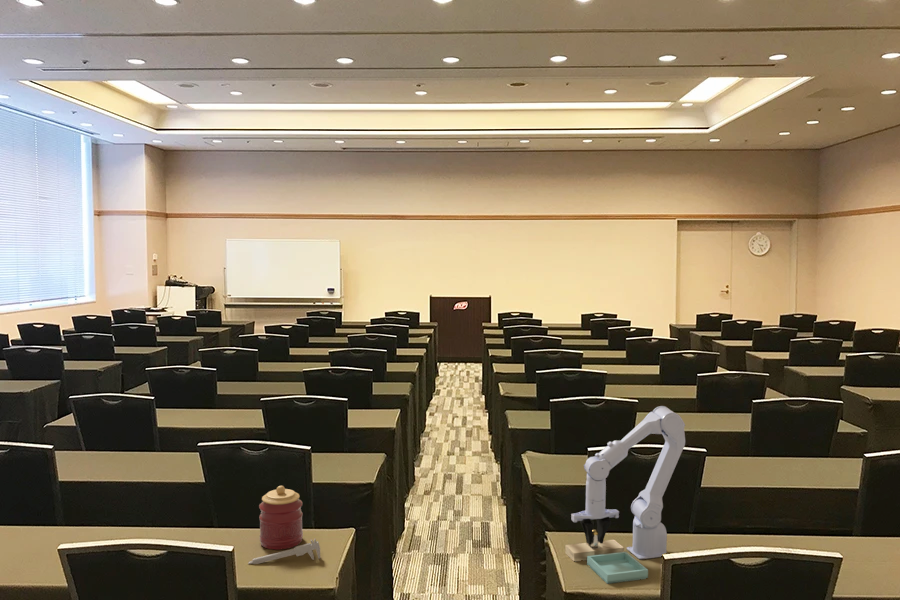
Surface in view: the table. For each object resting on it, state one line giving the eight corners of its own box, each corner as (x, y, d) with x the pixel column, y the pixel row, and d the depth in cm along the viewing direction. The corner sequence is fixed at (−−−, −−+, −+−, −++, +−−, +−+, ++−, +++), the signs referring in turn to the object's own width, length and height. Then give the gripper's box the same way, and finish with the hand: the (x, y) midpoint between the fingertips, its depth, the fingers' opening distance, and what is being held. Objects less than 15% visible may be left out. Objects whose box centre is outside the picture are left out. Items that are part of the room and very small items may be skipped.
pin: (596, 552, 224) (596, 528, 223) (599, 555, 222) (599, 531, 221) (589, 553, 223) (589, 528, 223) (592, 556, 221) (593, 531, 220)
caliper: (322, 556, 219) (317, 537, 219) (322, 558, 219) (317, 538, 218) (251, 575, 216) (246, 556, 215) (251, 577, 215) (246, 557, 214)
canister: (255, 550, 224) (254, 493, 222) (265, 533, 237) (264, 479, 235) (298, 550, 224) (298, 493, 223) (306, 533, 237) (305, 479, 236)
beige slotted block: (613, 547, 227) (614, 539, 227) (623, 555, 222) (623, 547, 222) (565, 553, 223) (565, 545, 223) (573, 561, 217) (574, 553, 217)
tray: (625, 559, 219) (625, 551, 219) (647, 578, 207) (648, 569, 207) (586, 564, 216) (587, 556, 215) (607, 583, 204) (607, 575, 203)
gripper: (611, 491, 227) (610, 534, 228) (567, 495, 223) (566, 539, 224) (622, 499, 220) (621, 544, 221) (577, 503, 216) (576, 549, 217)
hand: (594, 542), depth 222 cm, fingers open, 3 cm apart
